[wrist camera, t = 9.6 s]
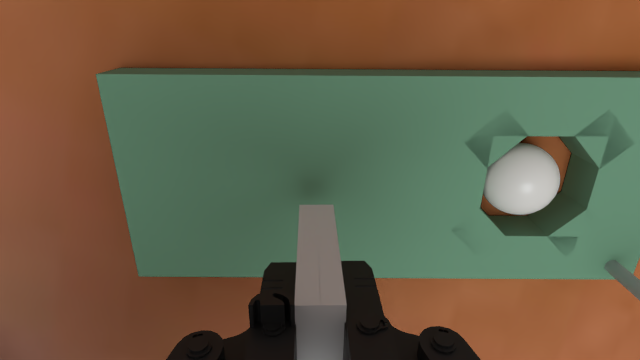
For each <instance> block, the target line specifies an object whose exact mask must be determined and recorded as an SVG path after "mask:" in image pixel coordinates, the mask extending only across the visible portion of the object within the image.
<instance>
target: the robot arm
mask: <svg viewBox="0 0 640 360" xmlns="http://www.w3.org/2000/svg"><path fill="white" fill-rule="evenodd" d="M248 306H249V319H250V328H249V329H248V330H246V331H245V332H243V333H241V334H239V335H237V336H234V337H230V338H227V339H223V340H222V338H221V337H220V336H219V335H218V334H217V333H215V332H212V331H198V332H194V333H191V334H189V335H188V336H186V337H184V338H183V339H182V340H181V341H180V342H179V343H178V344H177V345H176V346H175V348H174V349H173V351H172V352H171V353H170V355H169V356H168V358H167V359H166V360H480V358H479V357H478V356H477V355H476V354H475V352H474V351H473V350H472V349H471V347H470V346H469V345H468V344H467V342H466V341H465V340H464V339H463V338H462V337H461V336H460V335H459V334H458V333H457V332H455V331H453V330H451V329H449V328H444V327H440V326H436V327H429V328H427V329H424V330H423V331H422V333H421V334H420V336H417V335H413V334H409V333H405V332H402V331H400V330H398V329H396V328H394V327H393V326H392V325H391V324H390V322H389V320H388V319H387V318H386V317H385V316H384V313H383V310H382V306H381V302H380V298H379V294H378V290H377V287H376V282H375V279H374V274H373V270H372V268H371V267H370V266H369V265H368V264H367V263H366V262H365V261H341V259H340V251H339V243H338V236H337V228H336V221H335V213H334V206H333V205H299V224H298V243H297V262H271V263H270V264H269V265H268V267H267V268H266V269H265V270H264V274H263V281H262V286H261V291H260V294H258V295H256V296H255V297H254V298H253V299H251V301H250V303H249V305H248Z"/></svg>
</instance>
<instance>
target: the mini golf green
mask: <svg viewBox="0 0 640 360" xmlns="http://www.w3.org/2000/svg"><path fill="white" fill-rule="evenodd" d="M96 77H97V82H98V87H99V91H100V96H101V101H102V105H103V110H104V115H105V120H106V124H107V129H108V134H109V138H110V143H111V148H112V153H113V157H114V162H115V167H116V171H117V176H118V181H119V186H120V190H121V195H122V200H123V204H124V209H125V214H126V219H127V223H128V228H129V233H130V237H131V242H132V247H133V252H134V256H135V261H136V266H137V270H138V275H139V276H145V277H263V274H264V270H265V269H266V268H267V267H268V265H269V264H270V263H271V262H297V243H298V224H299V205H333V206H334V213H335V221H336V228H337V236H338V243H339V251H340V259H341V261H365V262H366V263H367V264H368V265H369V266H370V267H371V268H372V270H373V274H374V278H471V279H616V280H617V281H619V282H620V283H621V284H622V285H623V286H624V287H625V288H626V289H628V290H629V291H630V292H631V293H632V294H633V295H634V296H635V297H637V298H638V299H639V300H640V280H639V279H638V278H637V277H635V276H634V275H633V273H634V270H635V268H636V265H637V263H638V260H639V257H640V71H530V70H376V69H222V68H118V69H114V70H110V71H106V72H102V73H98V74H96ZM527 136H559V137H560V139H561V140H562V141H563V143H564V144H565V145H566V146H567V148H568V149H569V150H570V152H571V153H572V154H571V157H570V161H569V165H568V168H567V172H566V176H565V179H564V183H563V187H562V191H561V192H559V193H558V194H557V195H556V196H555V197H554V199H553V200H552V201H551V202H550V203H549V204H548V205H547V206H545V207H544V208H543V209H541V210H539V211H536V212H534V213H530V214H529V215H528V216H488V215H487V214H486V213H485V212H484V211H483V210H482V209H481V207H480V206H481V201H482V195H483V190H484V184H485V179H486V174H487V168H488V167H489V166H490V165H491V164H493V163H494V162H495V161H496V160H498V159H499V158H500V157H502V156H503V155H504V154H505V153H507V152H508V151H509V150H510V149H512V148H513V147H514V146H515V145H517V144H518V143H519V142H521V141H522V140H523V139H524V138H526V137H527Z"/></svg>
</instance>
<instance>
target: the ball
mask: <svg viewBox="0 0 640 360" xmlns="http://www.w3.org/2000/svg"><path fill="white" fill-rule="evenodd" d="M559 186H560V172H559V168H558V166H557V164H556V162H555V160H554V159H553V158H552V156H551V155H550V154H548V153H547V152H546V151H545V150H543V149H542V148H540V147H538V146H535V145H532V144H527V143H518V144H517V145H515V146H514V147H513V148H512V149H510V150H509V151H508V152H507V153H505V154H504V155H503V156H502V157H500V158H499V159H498V160H496V161H495V162H494V163H493V164H491V165H490V166H489V167H488V168H487V174H486V179H485V184H484V190H483V195H484V196H485V198H486V199H487V200H488V202H489V203H490V204H492V205H493V206H494V207H495V208H497V209H499V210H501V211H503V212H506V213H509V214H515V215H525V214H530V213H534V212H536V211H539V210H541V209H543V208H544V207H545V206H547V205H548V204H549V203H550V202H551V201H552V200H553V199H554V197H555V196H556V194H557V192H558V189H559Z"/></svg>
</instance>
